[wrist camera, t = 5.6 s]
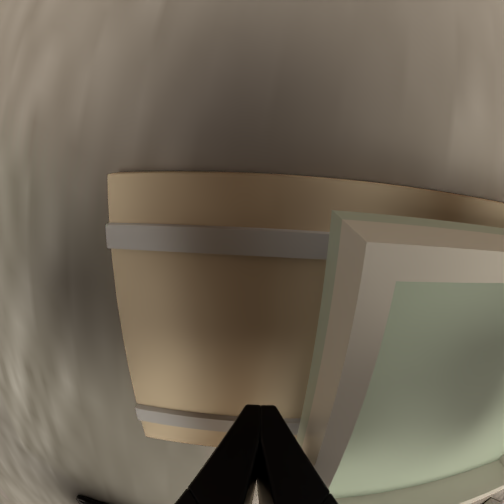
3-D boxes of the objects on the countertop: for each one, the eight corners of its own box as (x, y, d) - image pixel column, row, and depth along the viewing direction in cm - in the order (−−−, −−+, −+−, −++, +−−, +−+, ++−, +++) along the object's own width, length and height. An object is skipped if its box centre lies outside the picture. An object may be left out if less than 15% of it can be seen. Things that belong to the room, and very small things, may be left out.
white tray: (282, 449, 12) (285, 539, 8) (316, 196, 9) (366, 241, 4) (478, 424, 12) (512, 484, 8) (553, 227, 9) (630, 263, 4)
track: (149, 425, 14) (144, 440, 13) (117, 172, 10) (103, 175, 9) (504, 407, 13) (512, 417, 12) (572, 218, 10) (585, 224, 9)
